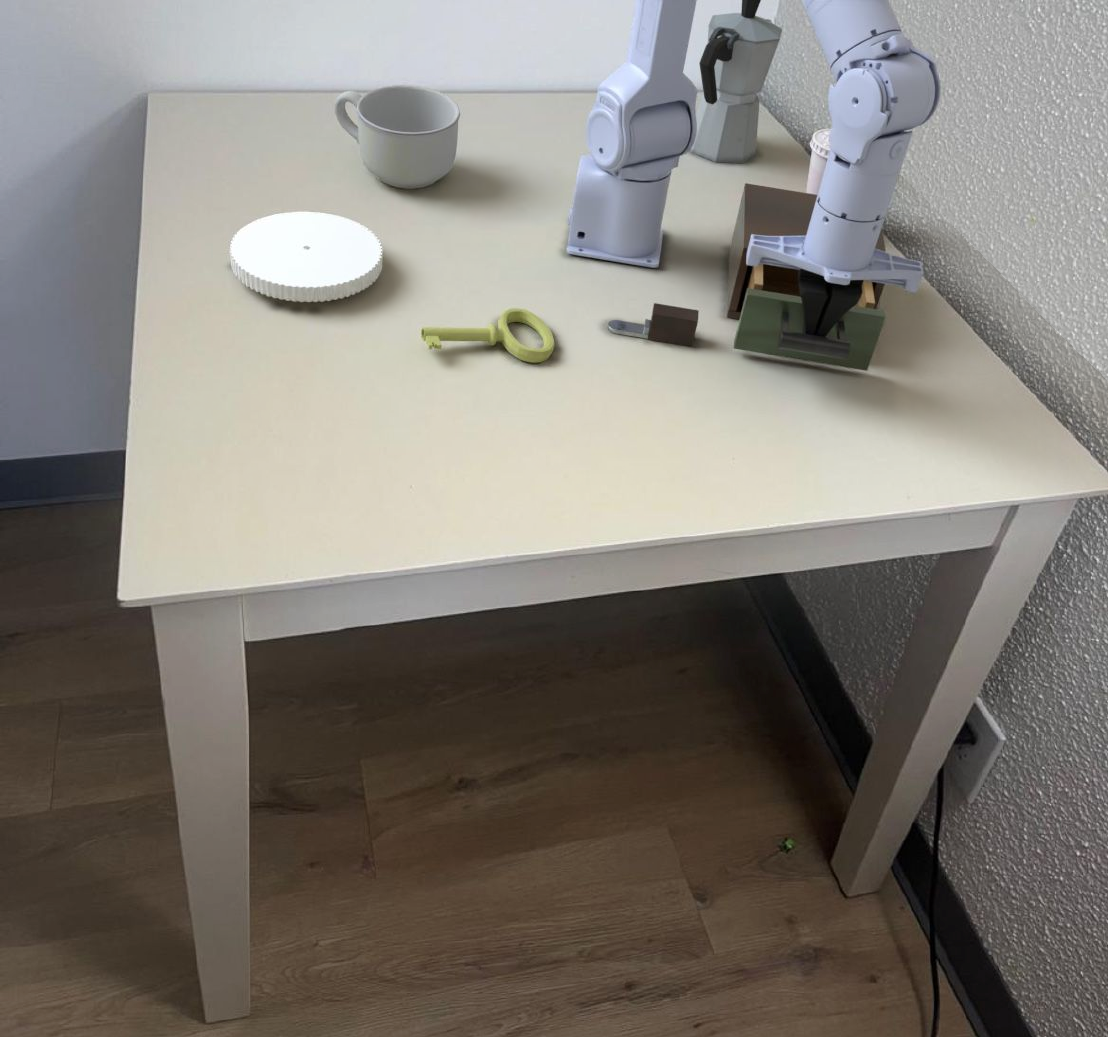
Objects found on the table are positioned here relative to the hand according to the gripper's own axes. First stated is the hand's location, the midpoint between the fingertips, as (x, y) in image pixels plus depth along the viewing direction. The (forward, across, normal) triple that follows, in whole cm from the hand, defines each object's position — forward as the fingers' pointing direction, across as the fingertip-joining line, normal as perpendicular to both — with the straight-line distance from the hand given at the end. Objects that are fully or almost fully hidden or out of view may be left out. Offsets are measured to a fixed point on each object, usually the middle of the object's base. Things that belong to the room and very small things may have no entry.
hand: (809, 345), depth 104 cm
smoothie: (+4, +3, +32) cm, 32 cm away
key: (+4, -28, -2) cm, 28 cm away
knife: (+4, -14, +4) cm, 15 cm away
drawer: (+3, 0, +6) cm, 6 cm away
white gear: (+4, -47, +5) cm, 47 cm away
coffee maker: (+4, -9, +47) cm, 48 cm away
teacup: (+4, -44, +28) cm, 52 cm away
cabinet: (+4, 0, +16) cm, 16 cm away
